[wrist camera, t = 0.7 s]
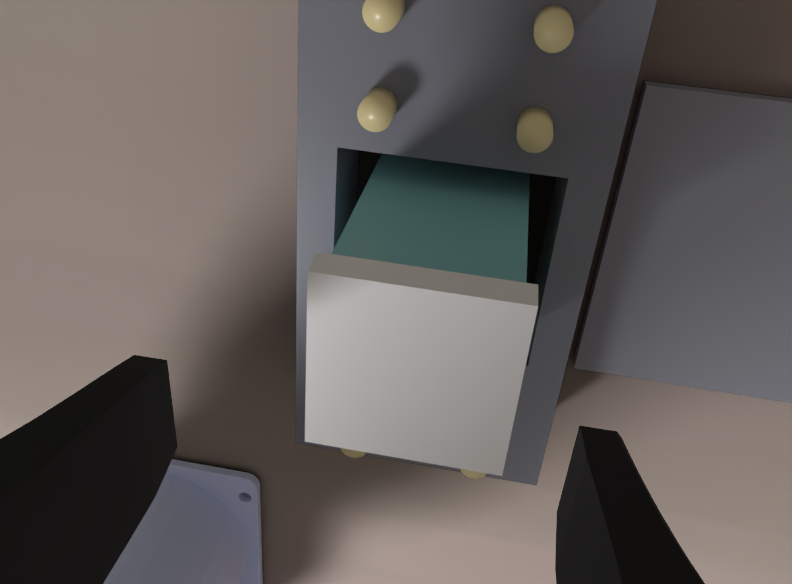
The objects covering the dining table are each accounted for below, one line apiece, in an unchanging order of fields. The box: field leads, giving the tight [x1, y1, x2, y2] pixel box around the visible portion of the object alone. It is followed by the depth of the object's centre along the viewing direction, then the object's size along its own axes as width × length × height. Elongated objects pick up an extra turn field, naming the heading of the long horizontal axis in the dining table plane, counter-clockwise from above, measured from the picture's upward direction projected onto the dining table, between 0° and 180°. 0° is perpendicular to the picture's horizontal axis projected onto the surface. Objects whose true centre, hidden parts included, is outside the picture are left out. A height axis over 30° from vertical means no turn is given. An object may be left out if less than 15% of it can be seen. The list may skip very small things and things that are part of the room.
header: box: [295, 0, 657, 485], centre depth 20 cm, size 14×8×4 cm, turn 176°
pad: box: [574, 81, 792, 403], centre depth 21 cm, size 9×8×1 cm
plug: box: [305, 153, 538, 476], centre depth 19 cm, size 4×4×8 cm
